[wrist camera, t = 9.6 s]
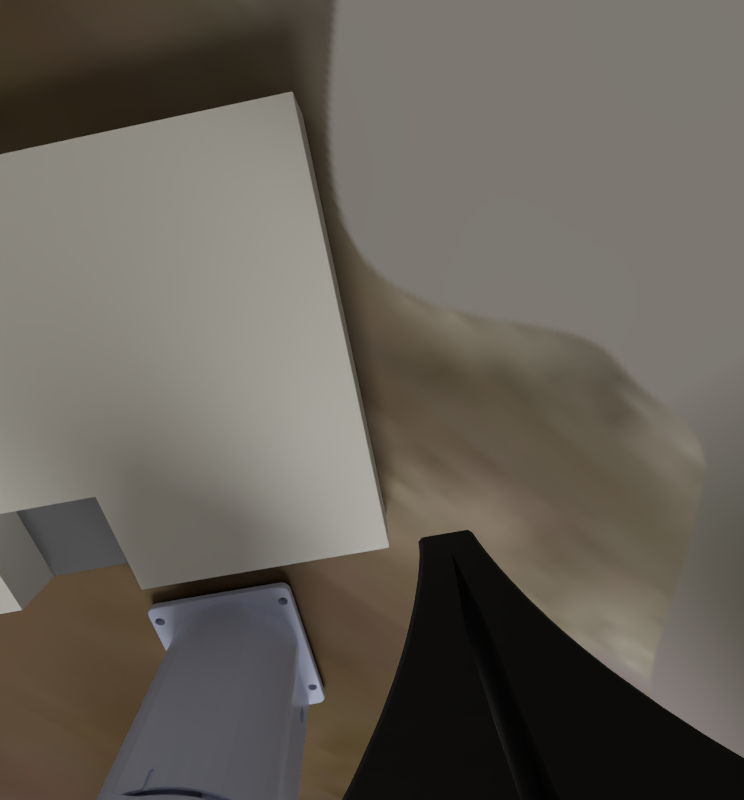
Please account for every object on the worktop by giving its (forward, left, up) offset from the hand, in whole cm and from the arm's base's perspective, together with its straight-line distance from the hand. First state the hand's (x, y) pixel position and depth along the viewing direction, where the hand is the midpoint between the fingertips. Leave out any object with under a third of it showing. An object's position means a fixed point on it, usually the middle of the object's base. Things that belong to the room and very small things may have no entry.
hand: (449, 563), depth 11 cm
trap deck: (+4, +17, -9) cm, 20 cm away
